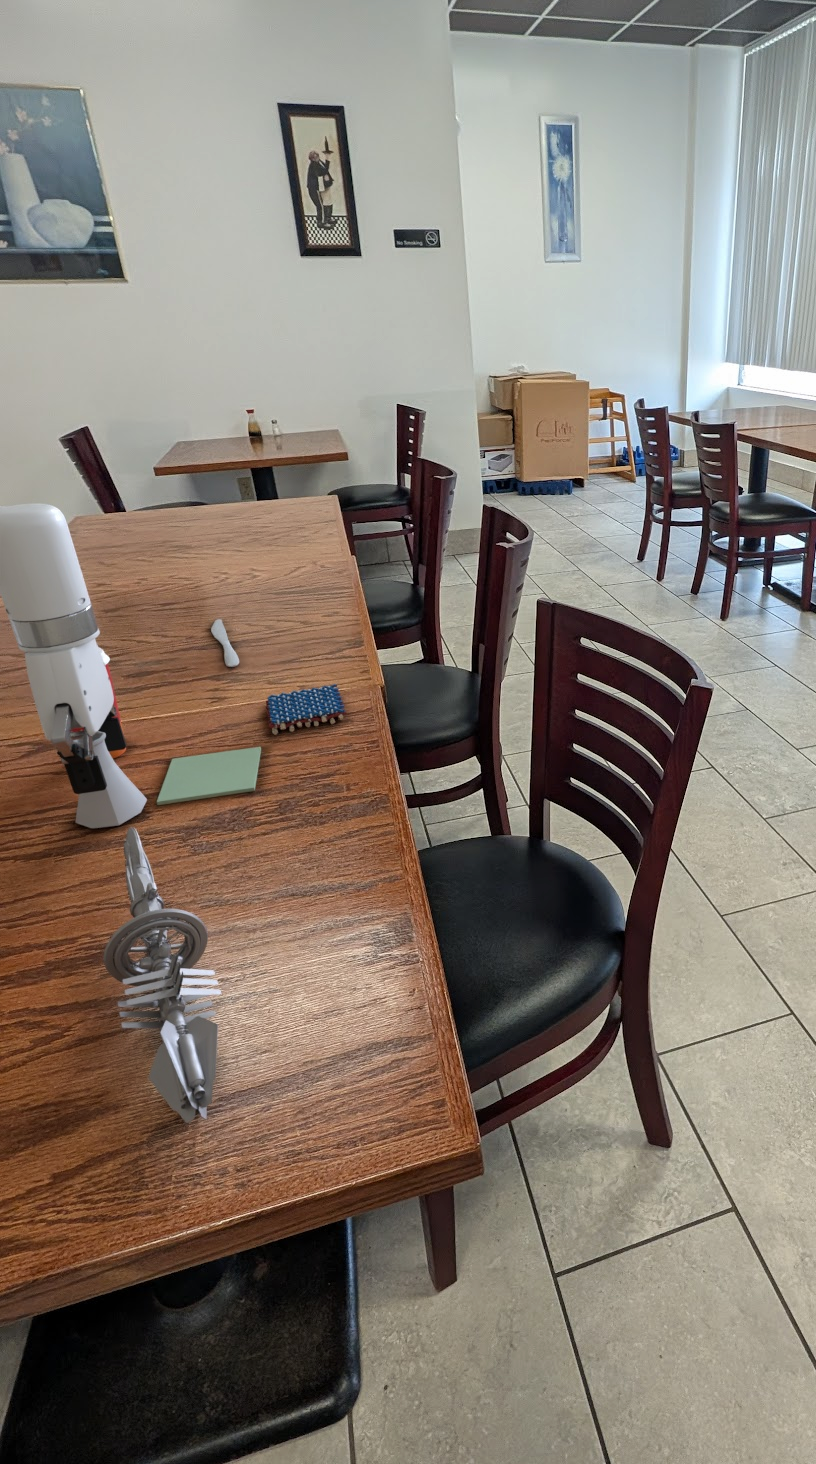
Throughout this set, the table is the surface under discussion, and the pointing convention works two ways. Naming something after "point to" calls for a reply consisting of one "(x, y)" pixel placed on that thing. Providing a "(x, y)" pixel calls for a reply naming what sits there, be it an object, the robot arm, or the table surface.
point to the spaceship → (166, 987)
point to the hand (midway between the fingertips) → (102, 769)
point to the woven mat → (304, 708)
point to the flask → (108, 793)
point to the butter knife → (225, 643)
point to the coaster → (210, 775)
